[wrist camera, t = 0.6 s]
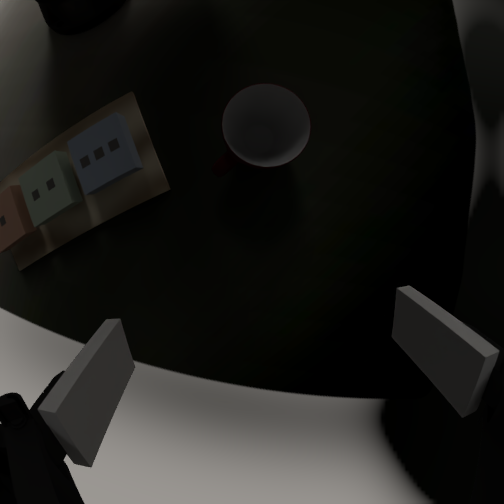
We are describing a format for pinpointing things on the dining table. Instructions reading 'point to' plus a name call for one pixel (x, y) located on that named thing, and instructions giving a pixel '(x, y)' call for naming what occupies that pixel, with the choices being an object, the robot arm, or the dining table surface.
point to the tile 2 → (50, 188)
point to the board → (101, 203)
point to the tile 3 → (104, 154)
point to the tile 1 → (14, 218)
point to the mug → (263, 128)
